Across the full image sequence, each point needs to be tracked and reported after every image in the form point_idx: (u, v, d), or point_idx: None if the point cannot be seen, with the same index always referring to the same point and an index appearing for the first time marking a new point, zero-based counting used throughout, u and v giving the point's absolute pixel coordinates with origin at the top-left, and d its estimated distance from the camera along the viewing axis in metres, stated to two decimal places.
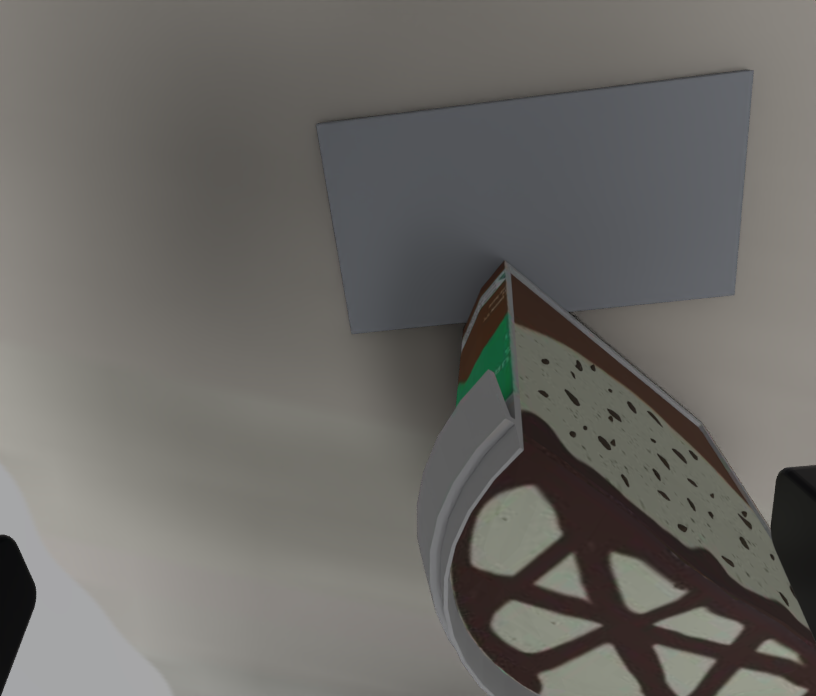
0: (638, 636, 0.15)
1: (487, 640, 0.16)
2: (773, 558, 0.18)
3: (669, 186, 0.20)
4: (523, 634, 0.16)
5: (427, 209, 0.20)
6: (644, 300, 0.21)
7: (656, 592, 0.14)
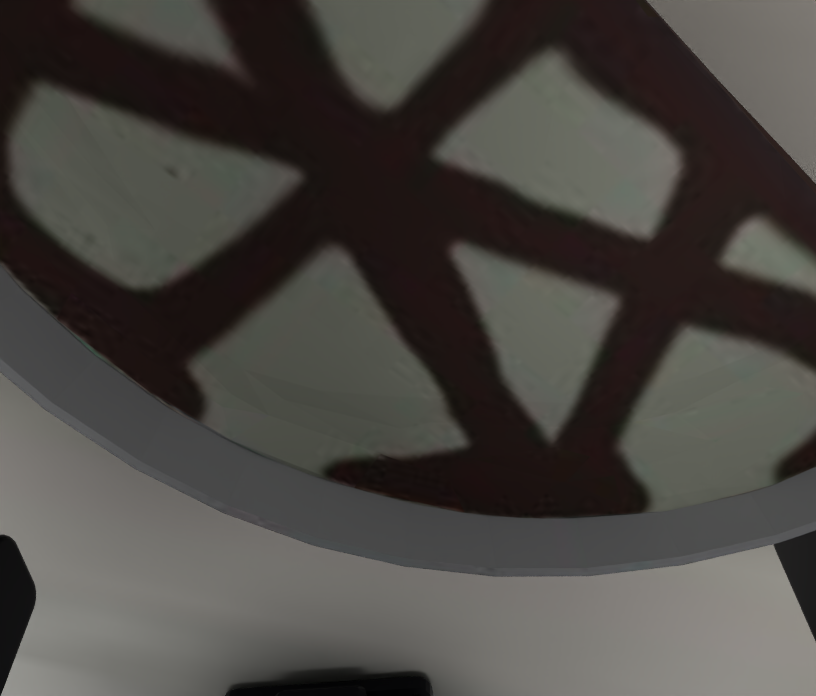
0: (405, 213, 0.06)
1: (19, 243, 0.06)
2: None
3: None
4: (110, 220, 0.06)
5: None
6: None
7: None
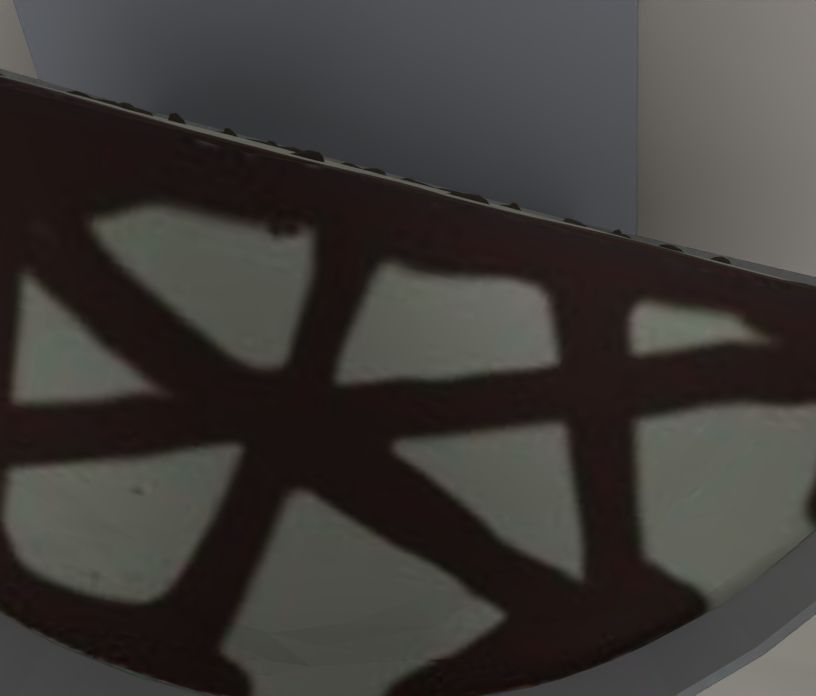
0: (339, 438, 0.06)
1: (40, 604, 0.07)
2: None
3: (531, 75, 0.14)
4: (106, 553, 0.07)
5: (191, 116, 0.14)
6: None
7: (256, 278, 0.06)
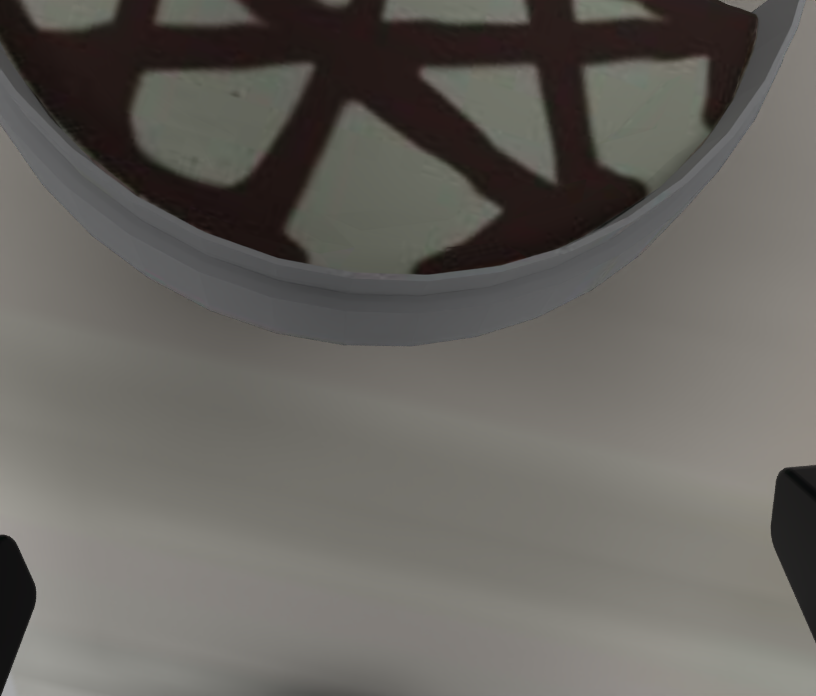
0: (382, 62, 0.09)
1: (148, 179, 0.09)
2: None
3: None
4: (204, 144, 0.09)
5: None
6: None
7: None
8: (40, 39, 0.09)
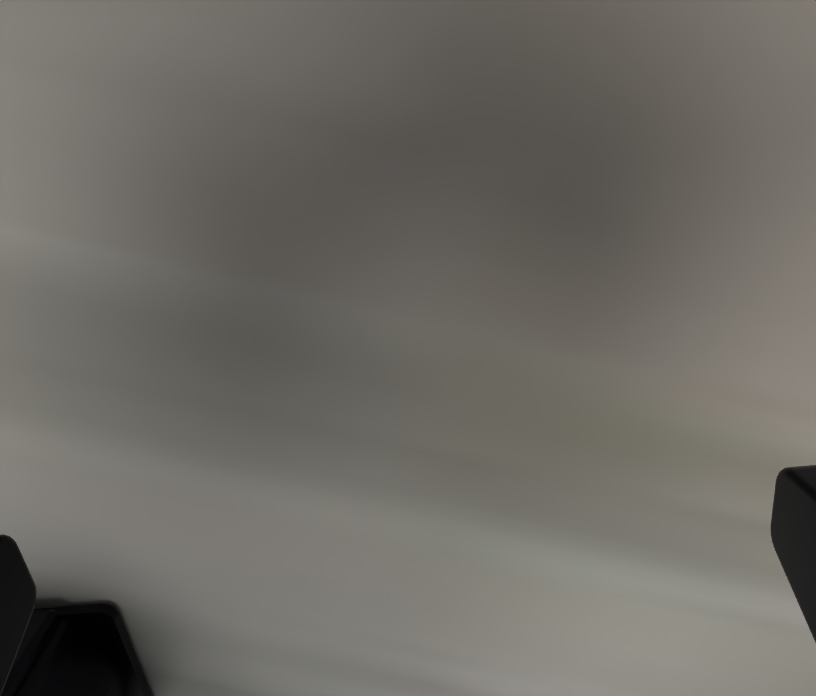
0: None
1: None
2: None
3: None
4: None
5: None
6: None
7: None
8: None
